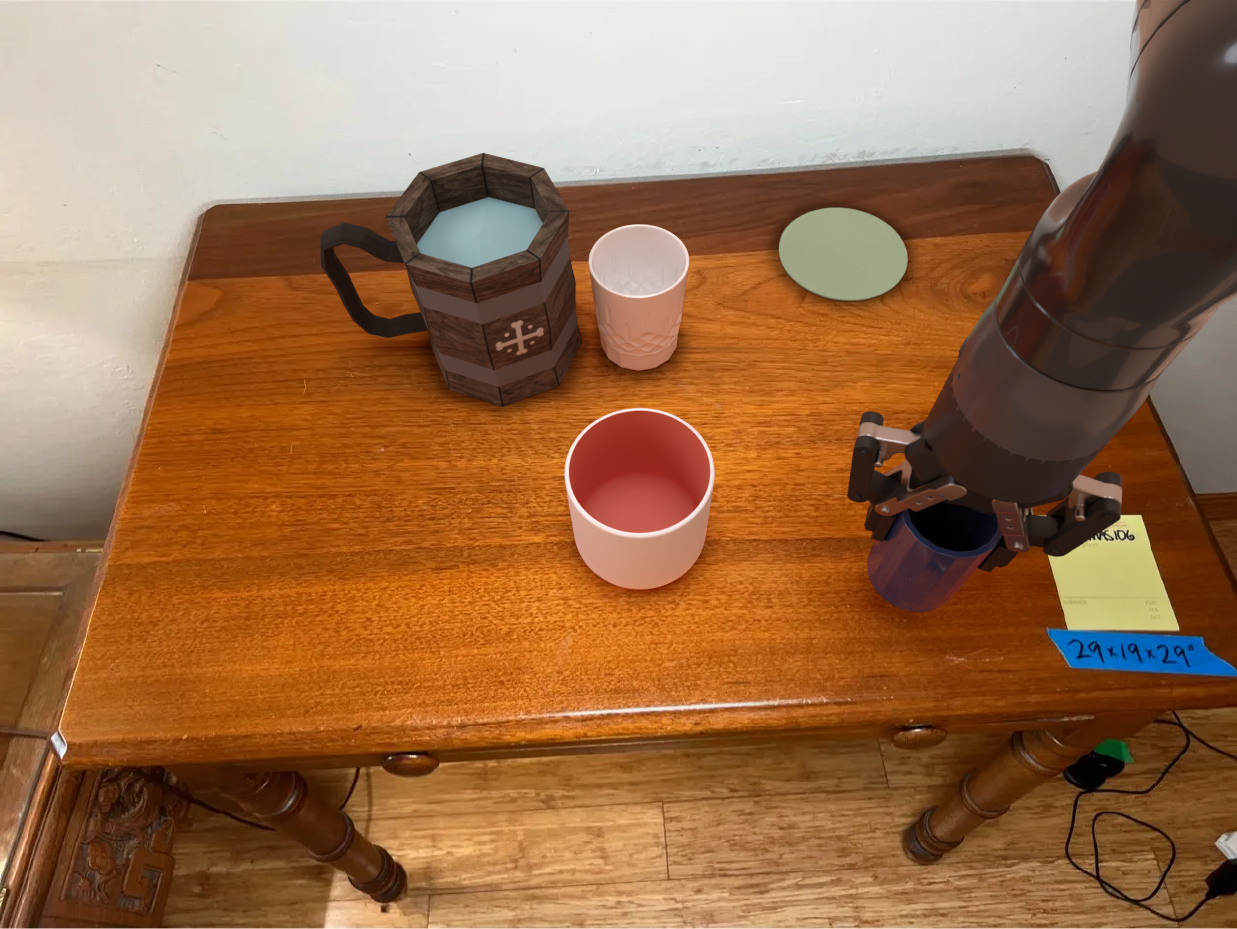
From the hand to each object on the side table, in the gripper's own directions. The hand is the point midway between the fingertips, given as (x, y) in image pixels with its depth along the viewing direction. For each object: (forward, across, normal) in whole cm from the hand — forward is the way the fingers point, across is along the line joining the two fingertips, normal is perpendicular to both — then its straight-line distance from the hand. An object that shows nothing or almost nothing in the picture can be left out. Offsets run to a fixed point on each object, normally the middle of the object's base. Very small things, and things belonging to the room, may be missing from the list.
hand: (931, 542), depth 52 cm
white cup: (+9, -25, +17) cm, 32 cm away
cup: (+9, -19, -1) cm, 21 cm away
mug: (+9, -39, +12) cm, 42 cm away
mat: (+9, -10, +33) cm, 35 cm away
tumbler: (+5, 0, 0) cm, 5 cm away
